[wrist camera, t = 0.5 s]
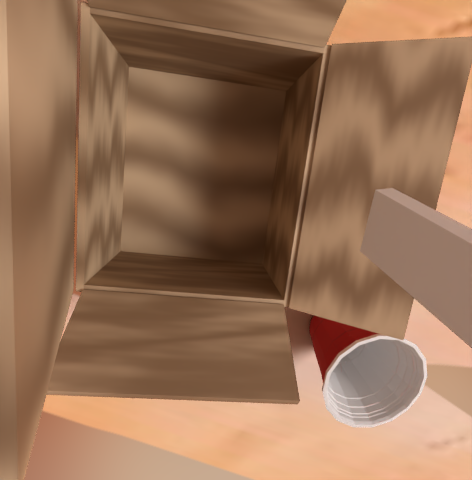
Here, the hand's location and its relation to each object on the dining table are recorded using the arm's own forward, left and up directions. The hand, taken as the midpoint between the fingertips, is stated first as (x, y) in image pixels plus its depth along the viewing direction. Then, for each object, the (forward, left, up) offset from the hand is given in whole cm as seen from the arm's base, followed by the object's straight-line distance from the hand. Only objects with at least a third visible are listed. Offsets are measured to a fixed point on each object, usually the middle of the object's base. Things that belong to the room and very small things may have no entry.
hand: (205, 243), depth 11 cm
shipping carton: (-2, +3, -27) cm, 27 cm away
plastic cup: (+16, +18, -27) cm, 36 cm away
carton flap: (-2, -7, -6) cm, 10 cm away
